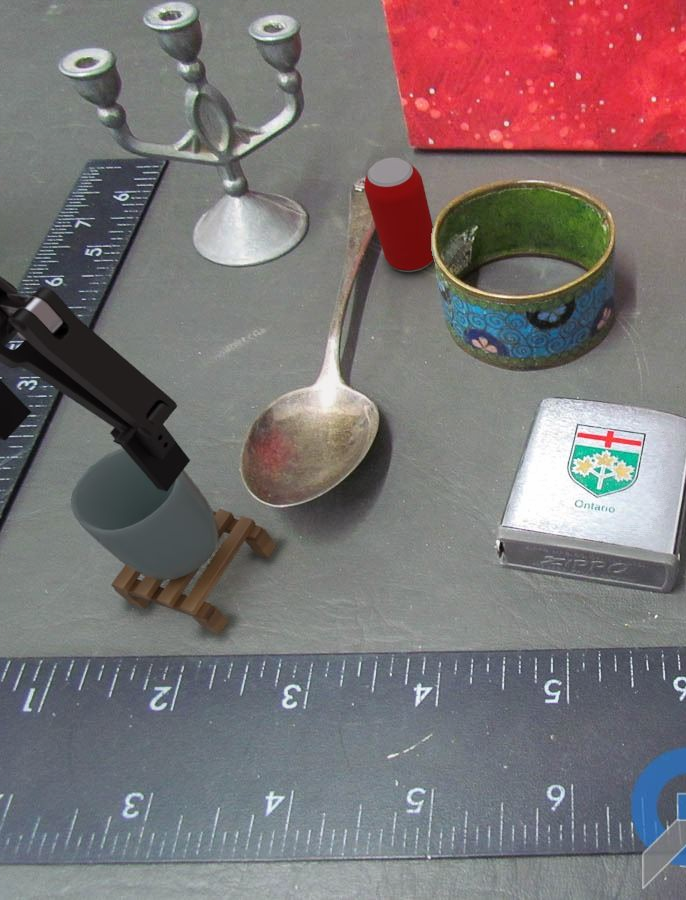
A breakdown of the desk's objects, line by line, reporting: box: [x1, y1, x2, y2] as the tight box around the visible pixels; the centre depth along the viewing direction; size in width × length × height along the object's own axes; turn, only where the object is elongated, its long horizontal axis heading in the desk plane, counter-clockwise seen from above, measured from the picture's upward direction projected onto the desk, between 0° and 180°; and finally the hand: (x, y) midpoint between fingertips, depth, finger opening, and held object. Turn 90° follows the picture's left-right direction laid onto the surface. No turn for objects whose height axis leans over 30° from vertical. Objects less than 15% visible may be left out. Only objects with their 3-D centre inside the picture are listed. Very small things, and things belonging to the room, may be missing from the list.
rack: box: [110, 508, 277, 636], centre depth 71 cm, size 9×9×4 cm
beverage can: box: [363, 157, 434, 273], centre depth 91 cm, size 6×6×12 cm
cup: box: [70, 447, 219, 581], centre depth 65 cm, size 8×8×10 cm
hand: (92, 449), depth 58 cm, fingers open, 13 cm apart
